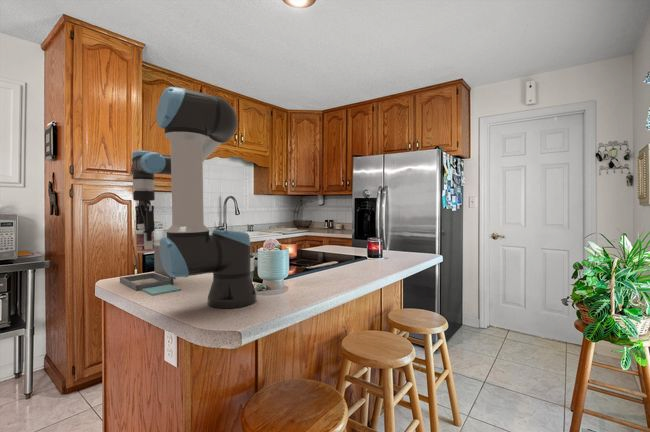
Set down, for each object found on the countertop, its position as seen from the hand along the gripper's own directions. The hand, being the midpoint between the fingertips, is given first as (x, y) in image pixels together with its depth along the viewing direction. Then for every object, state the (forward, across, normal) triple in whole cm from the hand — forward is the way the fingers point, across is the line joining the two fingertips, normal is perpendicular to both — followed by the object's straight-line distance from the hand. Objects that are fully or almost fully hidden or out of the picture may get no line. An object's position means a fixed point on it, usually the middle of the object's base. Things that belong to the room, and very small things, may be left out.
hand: (145, 248), depth 133 cm
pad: (+14, -16, 0) cm, 21 cm away
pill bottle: (+2, 0, 0) cm, 2 cm away
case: (+14, 0, 0) cm, 14 cm away
